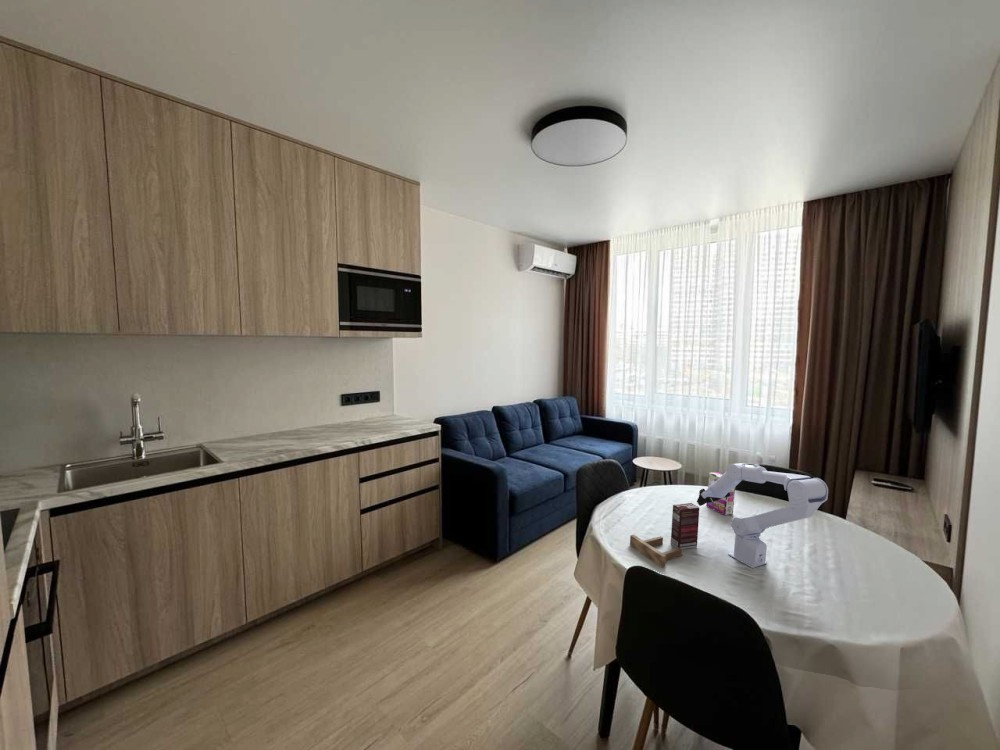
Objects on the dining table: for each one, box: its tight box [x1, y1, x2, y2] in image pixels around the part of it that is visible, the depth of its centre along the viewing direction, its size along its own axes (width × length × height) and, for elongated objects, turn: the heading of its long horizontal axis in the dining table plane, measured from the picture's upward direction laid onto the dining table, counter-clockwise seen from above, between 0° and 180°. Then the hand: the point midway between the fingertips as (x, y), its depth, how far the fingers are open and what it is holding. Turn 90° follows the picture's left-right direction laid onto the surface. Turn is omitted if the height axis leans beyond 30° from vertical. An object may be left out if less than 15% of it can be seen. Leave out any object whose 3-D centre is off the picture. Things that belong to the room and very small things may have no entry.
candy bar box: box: [705, 471, 736, 516], centre depth 189 cm, size 11×5×16 cm, turn 17°
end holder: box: [629, 534, 683, 568], centre depth 151 cm, size 16×13×4 cm
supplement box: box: [670, 502, 700, 550], centre depth 156 cm, size 9×5×16 cm, turn 104°
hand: (705, 501), depth 167 cm, fingers open, 7 cm apart
